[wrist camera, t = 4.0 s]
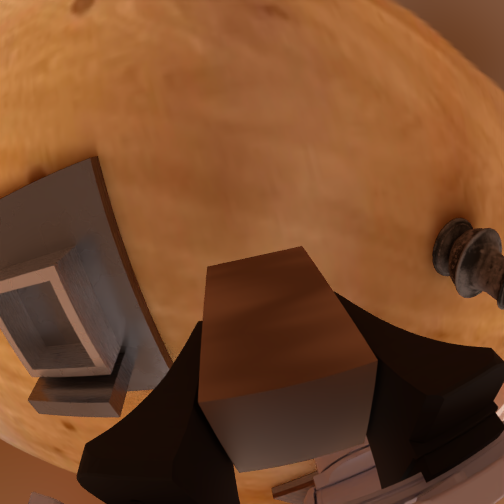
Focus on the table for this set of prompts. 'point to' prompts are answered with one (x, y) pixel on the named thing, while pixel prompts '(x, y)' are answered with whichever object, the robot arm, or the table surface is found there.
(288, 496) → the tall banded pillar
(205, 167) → the table surface
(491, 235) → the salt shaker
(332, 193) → the table surface
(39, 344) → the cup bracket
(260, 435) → the rail post
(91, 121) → the table surface
